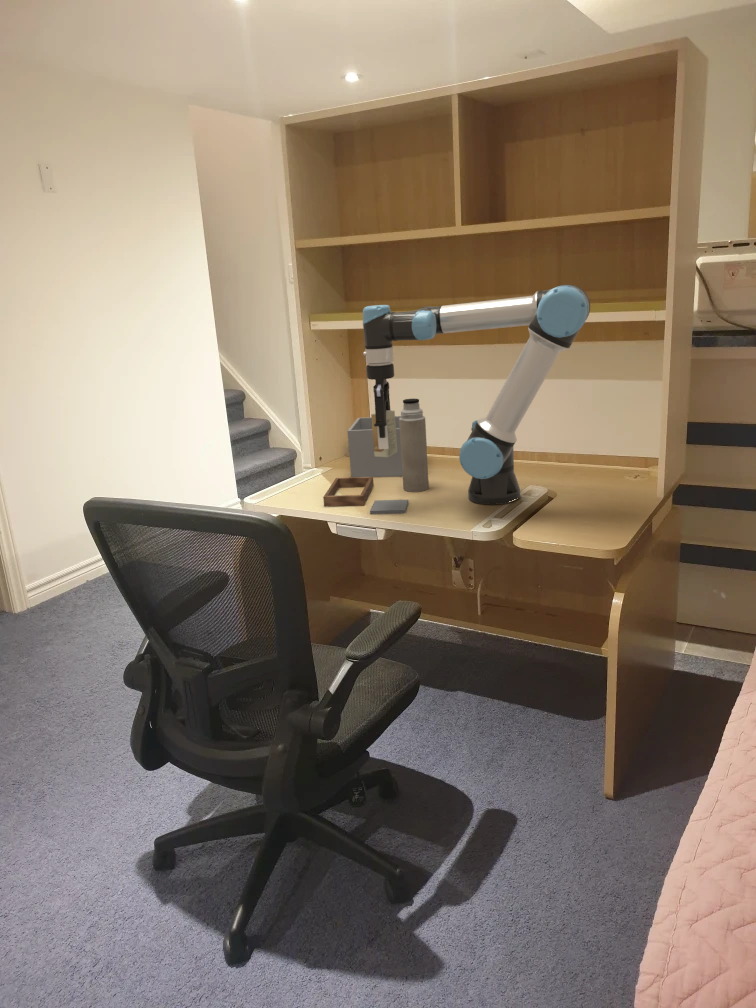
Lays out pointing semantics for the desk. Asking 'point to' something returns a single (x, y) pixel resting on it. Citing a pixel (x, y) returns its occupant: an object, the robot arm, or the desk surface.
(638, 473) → the desk surface
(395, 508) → the mat
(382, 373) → the robot arm
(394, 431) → the skincare box
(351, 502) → the frame
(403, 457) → the thermos bottle
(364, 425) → the box
